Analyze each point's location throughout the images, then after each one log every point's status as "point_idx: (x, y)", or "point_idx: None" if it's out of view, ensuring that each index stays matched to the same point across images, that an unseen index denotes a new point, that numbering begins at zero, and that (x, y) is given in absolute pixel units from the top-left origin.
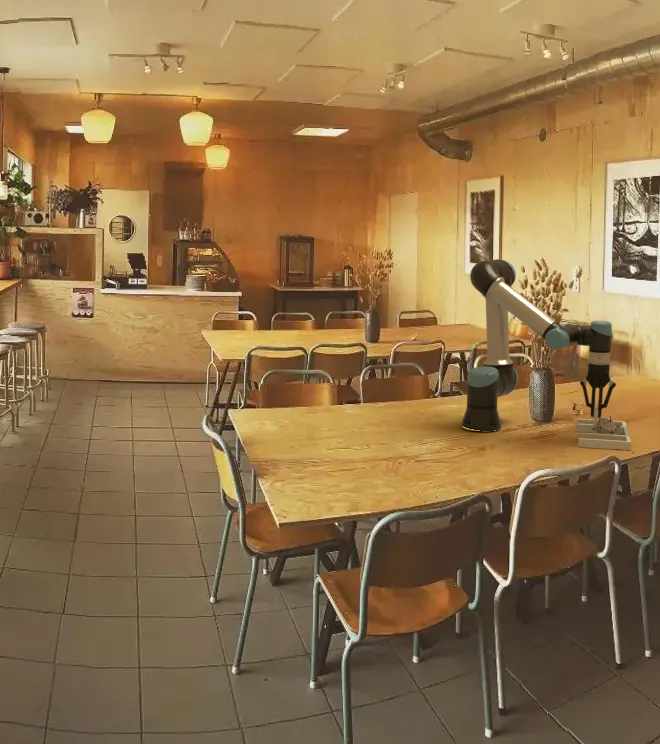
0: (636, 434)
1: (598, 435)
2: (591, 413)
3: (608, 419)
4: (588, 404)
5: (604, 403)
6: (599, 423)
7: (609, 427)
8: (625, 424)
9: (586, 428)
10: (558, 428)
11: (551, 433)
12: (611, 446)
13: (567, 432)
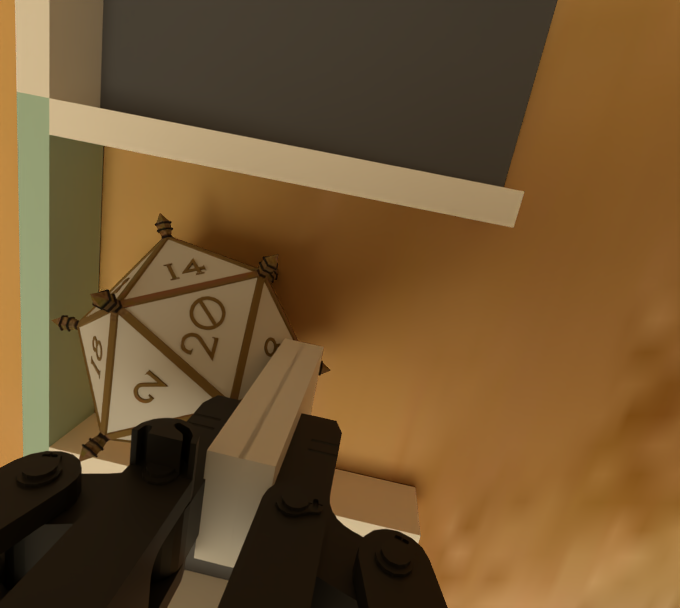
0: (3, 421)
1: (315, 150)
2: (327, 449)
3: (129, 360)
4: (384, 570)
5: (4, 521)
6: (254, 338)
7: (166, 261)
8: None
9: (346, 493)
10: (534, 578)
11: (650, 442)
12: None
13: (499, 472)
